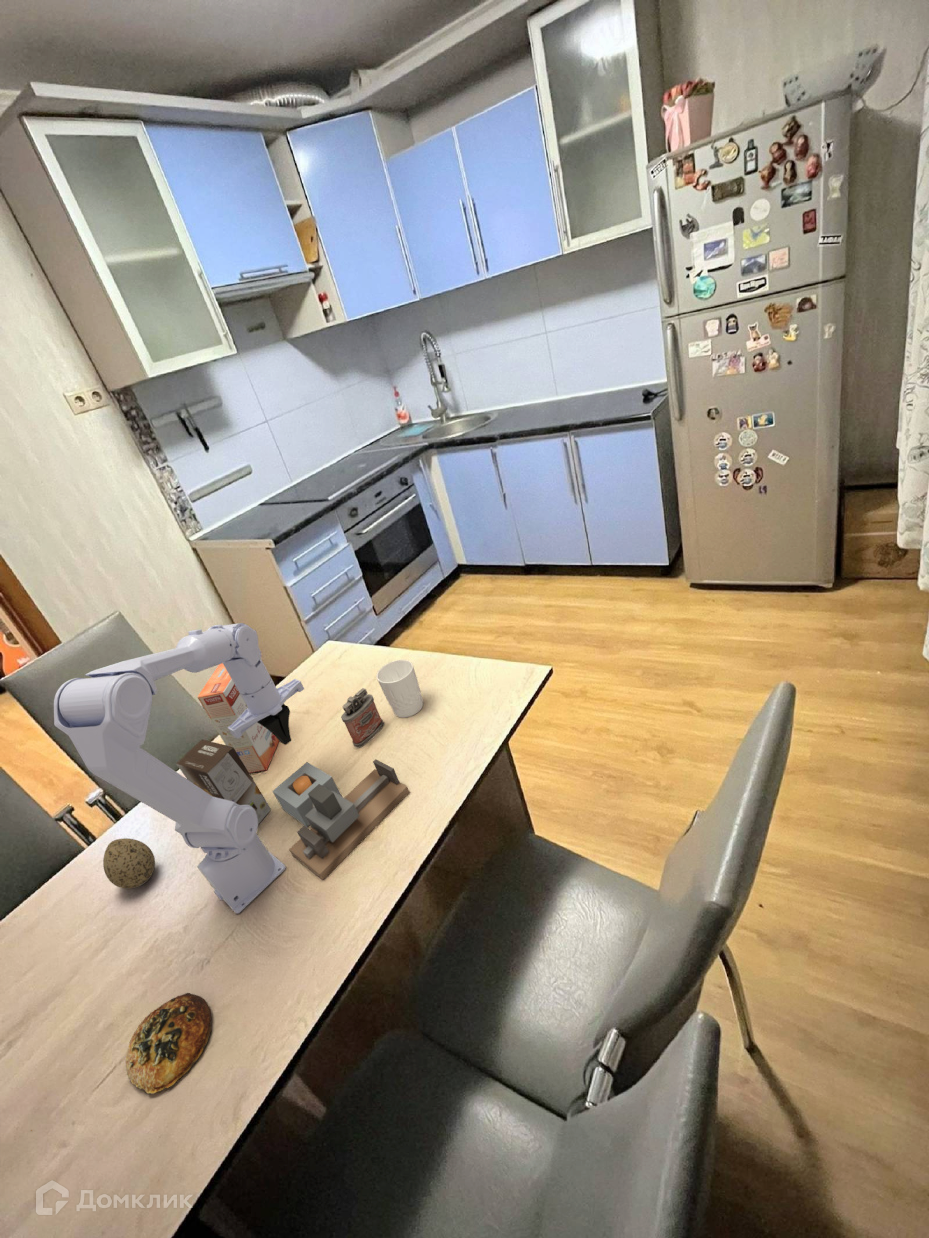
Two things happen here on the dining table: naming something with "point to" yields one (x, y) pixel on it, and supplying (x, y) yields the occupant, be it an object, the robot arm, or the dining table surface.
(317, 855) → the rail
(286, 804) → the box
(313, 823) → the carriage
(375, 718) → the lighter
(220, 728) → the cracker box
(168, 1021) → the bread roll
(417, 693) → the white cup
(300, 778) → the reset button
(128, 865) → the decorative egg
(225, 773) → the coffee box
